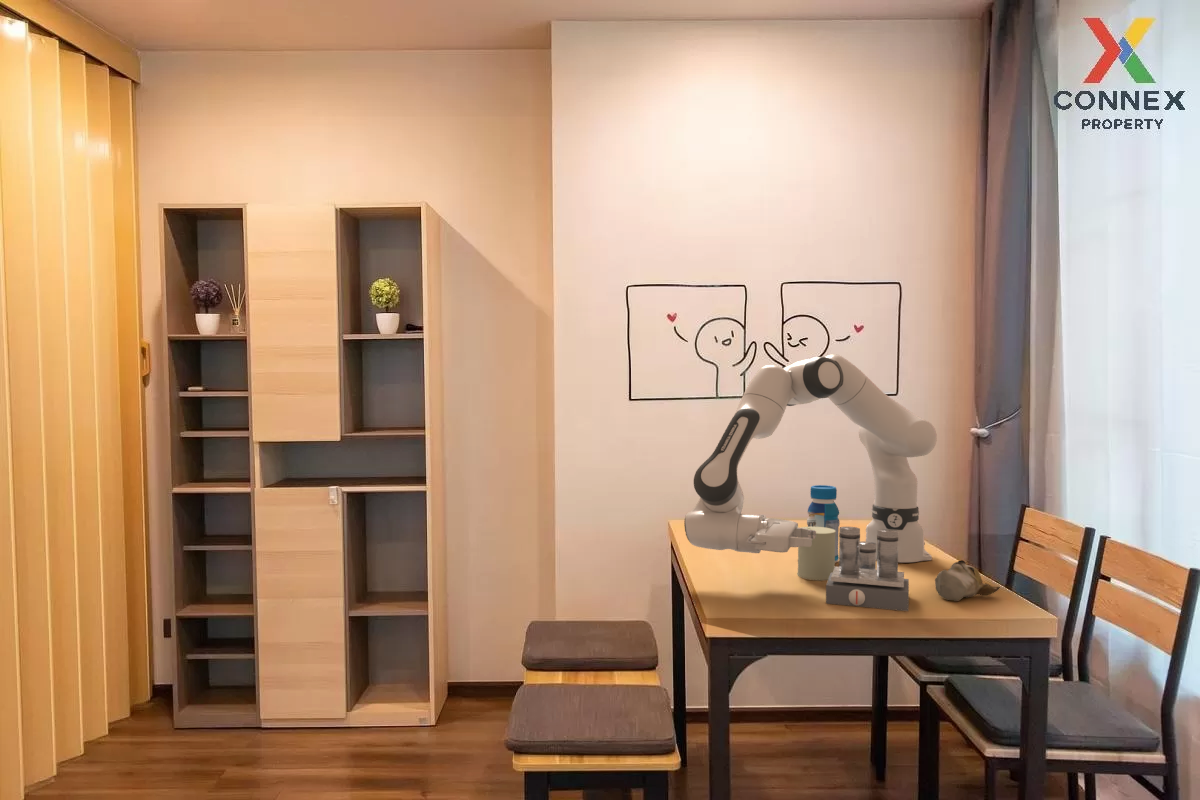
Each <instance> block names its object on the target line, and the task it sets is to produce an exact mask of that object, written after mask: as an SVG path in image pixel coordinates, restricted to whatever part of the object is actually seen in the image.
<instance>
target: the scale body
mask: <svg viewBox="0 0 1200 800" xmlns="http://www.w3.org/2000/svg"><path fill="white" fill-rule="evenodd" d="M831 576H832V573H830V576H829V579H828V580H826V581H827V582H826V585H825V604H827V605H828V604H830V605H839V606H840V605H842V606H849V607H850V606H851V607H861V608H872V609H879V610H880V609H882V610H893V611H902V612H903V611H904V612H909V604H910V603H909V595H910V594H909V591H910V589H909V588H910V587H909V586H910V585H909V584H910V581H909V578H904V587H893V586H881V585H870V584H859V583H847V582H836V581H831Z"/></svg>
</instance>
